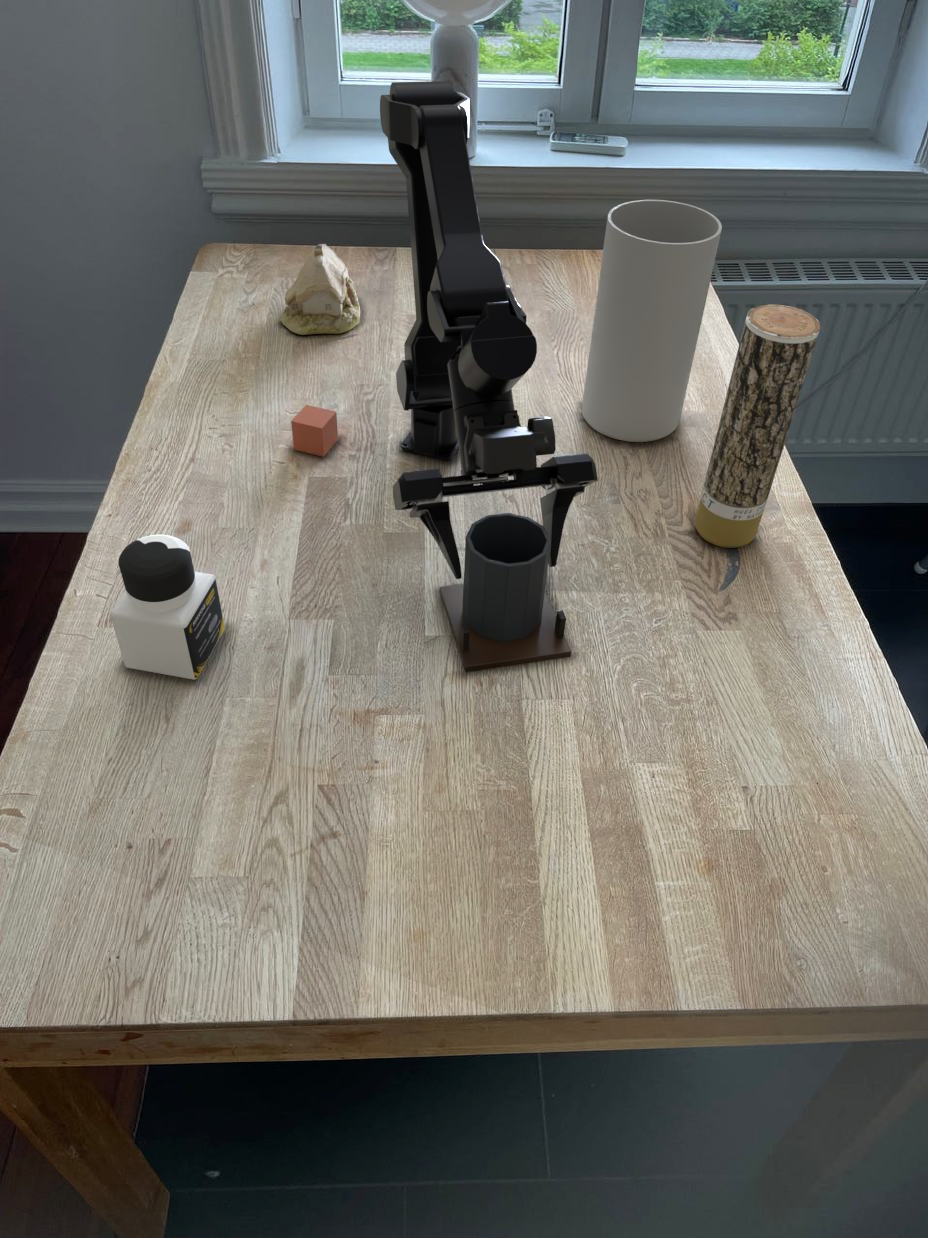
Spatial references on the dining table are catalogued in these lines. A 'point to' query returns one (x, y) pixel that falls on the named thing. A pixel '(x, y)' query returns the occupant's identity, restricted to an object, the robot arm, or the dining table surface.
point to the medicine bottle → (166, 609)
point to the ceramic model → (322, 296)
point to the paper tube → (755, 422)
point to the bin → (505, 576)
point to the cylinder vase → (648, 317)
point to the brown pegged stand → (496, 654)
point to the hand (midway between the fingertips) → (506, 572)
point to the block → (314, 430)
